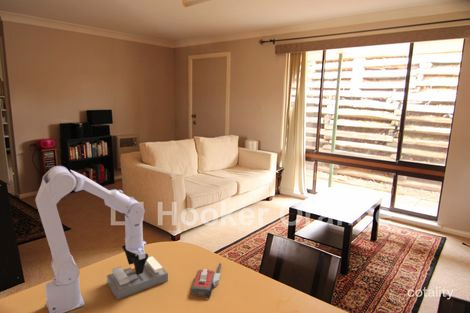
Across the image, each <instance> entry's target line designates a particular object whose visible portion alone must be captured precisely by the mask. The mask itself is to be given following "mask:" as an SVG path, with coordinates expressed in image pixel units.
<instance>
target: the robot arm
mask: <svg viewBox="0 0 470 313" xmlns="http://www.w3.org/2000/svg"><path fill="white" fill-rule="evenodd" d="M72 191H74V192H80V191H85V192H87V193H89V194H92V195H95V196H97V197H98V198H101V199H102V200H103V201H104V205H105V206H107V207H109V208H111V209H113V210H115V211H117V212H119V213H121V214H125V215H124V229H125V237H124V243H125V244H124V245H122V246H121V248H122V250H123V251H124V254H125V256H126V260H127V263H128V265H129V266H130V265H133V266H135V272H136V274H137V275H138V274H141V273H143V269H144V265H145V263H146V260H147V259H148V258H149V254H148V253H146V252H145V246H146V245H147V242H146V241H145V240H144V234H143V232H144V231H143V230H144V229H143V217H144V215H145V213H146V212H145V211H146V210H145V208H144V205H143V204H141V203H140V202H139V201H138V200H136V199H135V197H133V196H129V195H126V194H124V191H123V190H121V189H110V190H109V189H107V188H106V187H104V186H102V185H100V184H99V183H97V182H95V181H94V180H92V179H90V178H88V177H87V176H85V175H84V174H81V173H79V172H78V171H74V170H72V169H70V170H69V169H68V168H67V167H65V166H63V165H56V166H53V167H51V168H50V169H48V171H47V172H46V173H45V174H44V175H43V176H42V180H41V183H40V187H39V188H38V191H37V194H36V196H35V204H36V208H37V210H38V213H39V217H40V221H41V224H42V227H43V229H44V233H45V236H46V240H47V243H48V246H49V248H50V249H49V250H50V252H51V257H52V259H51V263H50V266H51V269H52V270H53V273H54V276H53V278H52V280H51V281H49V282H47V283H45V285H44V288H45V289H44V290H45V296H46V297H45V299H46V302H45V304H46V305H45V306H46V308H47V309H48V310H47V311H48V313H67V312H70V311H73V310H75V309H78V308H80V307H81V308H82V307H83V306H85V300H84V299H83V296H82V294H81V282H80V273H81V272H80V271H81V270H80V268H79V267H78V265H77V263H76V262H75V260H74V256H73V255H72V254H71V251H70V247H69V245H68V241H67V238H66V234H65V231H64V228H63V224H62V221H61V220H62V219H61V217H60V214H59V210H58V207H57V206H58V205H57V204H58V203H59V202H60V201H61V199H62V198H64V197H65V196H66V195H68V194H70V193H71V192H72Z"/></svg>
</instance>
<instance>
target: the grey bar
mask: <svg viewBox="0 0 470 313" xmlns="http://www.w3.org/2000/svg"><path fill="white" fill-rule="evenodd" d="M123 270H124V269H123V268H122V266H117V267H114V268H112V269H111V274H112V273H113V275H114V276H115V278H116V279H117V281H118V283H119V284H120V285H122V284H125V283H128V282H129V278H128V276H127V275H126V274H125V272H124V271H123Z"/></svg>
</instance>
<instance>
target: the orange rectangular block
mask: <svg viewBox="0 0 470 313" xmlns="http://www.w3.org/2000/svg"><path fill="white" fill-rule="evenodd" d="M130 268H131V272H132V273H135V266H134V265H133V266H130Z"/></svg>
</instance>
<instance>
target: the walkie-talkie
mask: <svg viewBox="0 0 470 313" xmlns="http://www.w3.org/2000/svg"><path fill="white" fill-rule="evenodd" d="M221 269H222V263H221V262H220V263H218V266H217V271H216V272H215V271H214V270H210V269H208V268H207V269H206V268H202V269H198V270H197V271H196V274H195V277H194V279H193V284H192V285H191V295H192V296H199V297H207V298H209V297H211V296H212V293H213V288H216V287H217V286H218V285H219V284H220V279H221V275H222V274H221Z"/></svg>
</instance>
